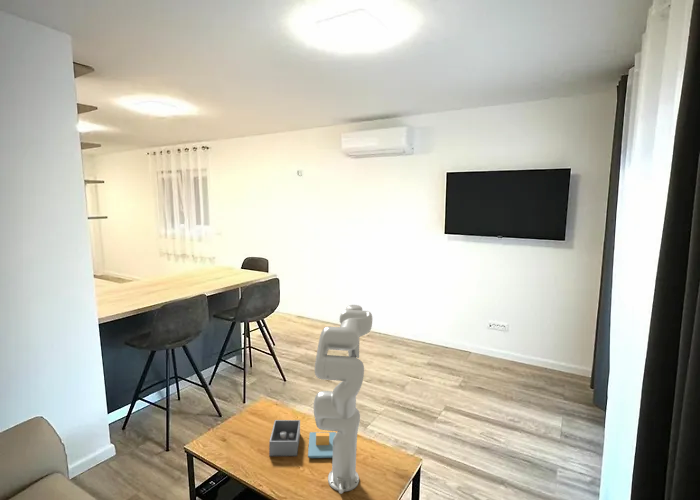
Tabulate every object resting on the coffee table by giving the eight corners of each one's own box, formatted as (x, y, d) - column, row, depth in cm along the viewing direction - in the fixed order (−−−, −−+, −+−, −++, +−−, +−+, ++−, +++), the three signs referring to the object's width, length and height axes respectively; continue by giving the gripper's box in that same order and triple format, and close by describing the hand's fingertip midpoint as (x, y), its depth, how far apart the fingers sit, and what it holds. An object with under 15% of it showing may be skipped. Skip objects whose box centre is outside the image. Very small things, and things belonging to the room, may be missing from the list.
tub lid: (336, 459, 165) (336, 445, 164) (307, 459, 164) (308, 446, 163) (335, 436, 181) (336, 423, 180) (309, 436, 180) (309, 423, 179)
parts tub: (296, 456, 166) (297, 441, 165) (269, 456, 166) (269, 441, 165) (299, 433, 182) (300, 420, 181) (274, 433, 181) (274, 420, 180)
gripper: (363, 338, 168) (361, 375, 170) (360, 325, 185) (358, 358, 187) (346, 338, 167) (344, 375, 170) (344, 325, 184) (343, 358, 187)
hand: (352, 366), depth 178 cm, fingers open, 9 cm apart
